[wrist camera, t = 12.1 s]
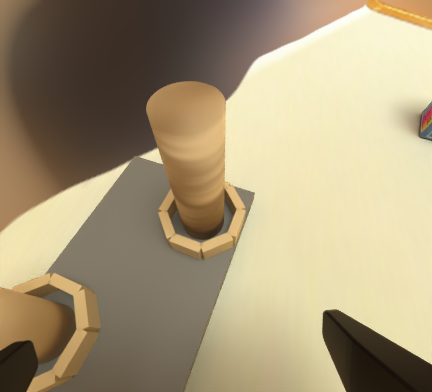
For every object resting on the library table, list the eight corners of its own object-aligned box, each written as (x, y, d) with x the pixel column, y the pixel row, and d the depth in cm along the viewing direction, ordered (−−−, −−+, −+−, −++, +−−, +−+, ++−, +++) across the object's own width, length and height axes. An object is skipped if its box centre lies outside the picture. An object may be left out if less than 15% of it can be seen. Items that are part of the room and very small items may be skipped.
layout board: (253, 200, 26) (281, 68, 14) (155, 469, 15) (-131, 994, 3) (137, 164, 29) (75, 30, 17) (-11, 365, 18) (-483, 403, 6)
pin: (229, 210, 23) (236, 89, 13) (214, 246, 21) (207, 140, 11) (193, 198, 24) (169, 75, 13) (175, 231, 22) (130, 120, 11)
